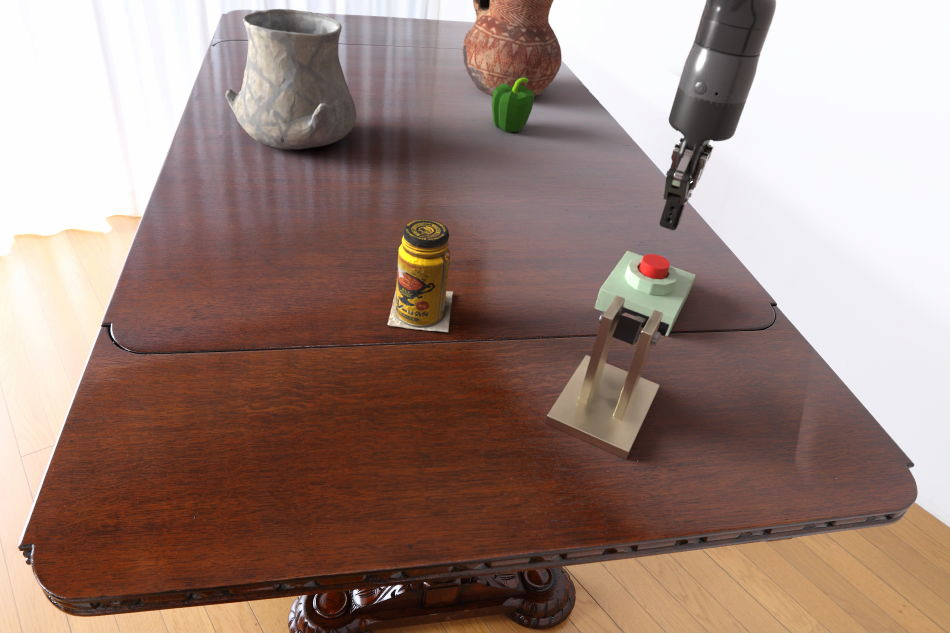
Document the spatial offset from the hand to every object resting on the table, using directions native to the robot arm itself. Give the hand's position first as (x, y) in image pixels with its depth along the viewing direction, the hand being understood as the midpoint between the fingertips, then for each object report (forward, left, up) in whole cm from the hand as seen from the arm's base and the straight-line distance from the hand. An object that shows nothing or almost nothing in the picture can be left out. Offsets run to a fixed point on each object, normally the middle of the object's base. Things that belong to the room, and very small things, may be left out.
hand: (668, 225), depth 85 cm
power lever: (+14, +14, -4) cm, 20 cm away
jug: (-19, -80, -12) cm, 83 cm away
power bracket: (+17, +16, -12) cm, 26 cm away
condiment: (+30, -6, -12) cm, 33 cm away
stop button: (0, 0, -7) cm, 7 cm away
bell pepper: (-9, -59, -12) cm, 61 cm away
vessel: (+34, -60, -12) cm, 70 cm away
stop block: (0, 0, -12) cm, 12 cm away
